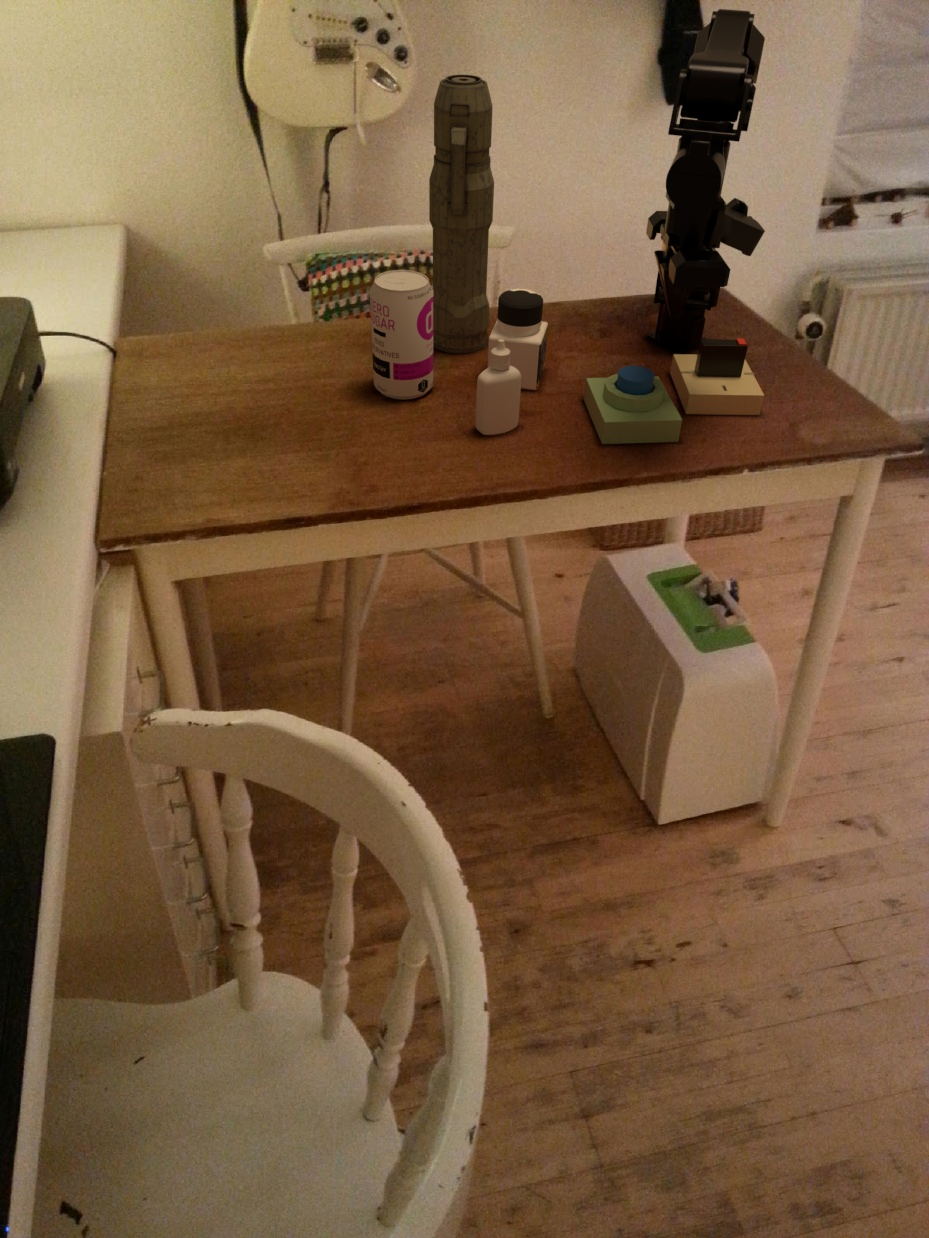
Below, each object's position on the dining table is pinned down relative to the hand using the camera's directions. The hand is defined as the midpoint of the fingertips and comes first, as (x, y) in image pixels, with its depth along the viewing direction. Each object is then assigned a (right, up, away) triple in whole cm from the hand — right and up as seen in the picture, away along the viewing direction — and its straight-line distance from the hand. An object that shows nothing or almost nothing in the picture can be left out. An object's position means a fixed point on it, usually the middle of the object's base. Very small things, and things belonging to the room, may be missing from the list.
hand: (674, 317), depth 119 cm
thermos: (-27, +4, +24) cm, 37 cm away
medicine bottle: (-19, -4, +16) cm, 25 cm away
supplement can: (-35, -6, +13) cm, 37 cm away
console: (+8, -6, +13) cm, 17 cm away
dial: (+8, -4, +11) cm, 15 cm away
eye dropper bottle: (-22, -13, +5) cm, 26 cm away
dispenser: (-4, -11, +7) cm, 14 cm away
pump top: (-4, -8, +4) cm, 10 cm away
